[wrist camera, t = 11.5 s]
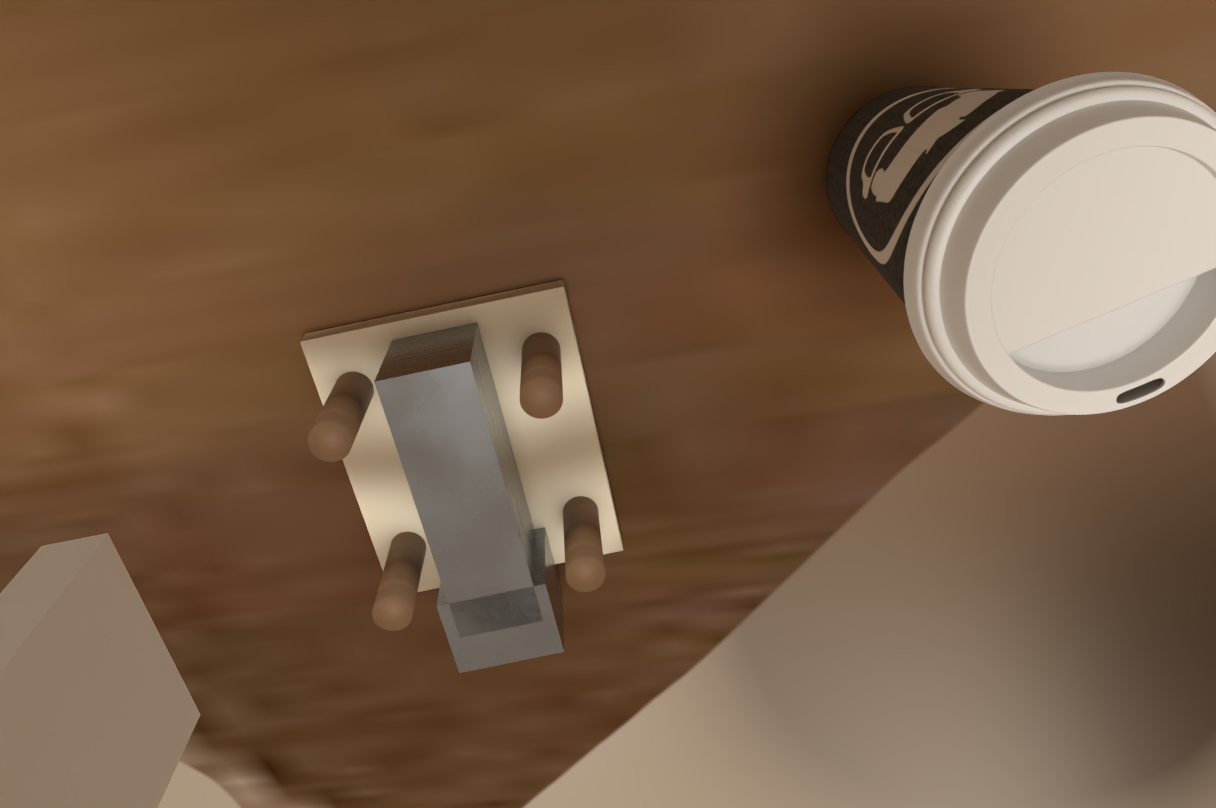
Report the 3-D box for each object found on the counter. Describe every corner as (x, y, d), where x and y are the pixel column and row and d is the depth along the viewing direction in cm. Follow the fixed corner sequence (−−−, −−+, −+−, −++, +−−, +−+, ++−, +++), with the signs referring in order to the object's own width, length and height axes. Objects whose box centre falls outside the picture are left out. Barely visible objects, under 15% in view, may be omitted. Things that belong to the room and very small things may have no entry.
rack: (305, 333, 38) (266, 390, 33) (563, 279, 38) (566, 327, 33) (395, 584, 44) (374, 669, 38) (621, 538, 43) (632, 617, 38)
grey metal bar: (380, 342, 38) (360, 384, 34) (489, 319, 37) (483, 358, 33) (467, 609, 43) (459, 673, 39) (562, 590, 43) (564, 651, 39)
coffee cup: (783, 290, 39) (913, 452, 25) (795, 49, 35) (958, 86, 21) (1002, 279, 39) (1248, 432, 26) (1039, 40, 35) (1352, 71, 22)
